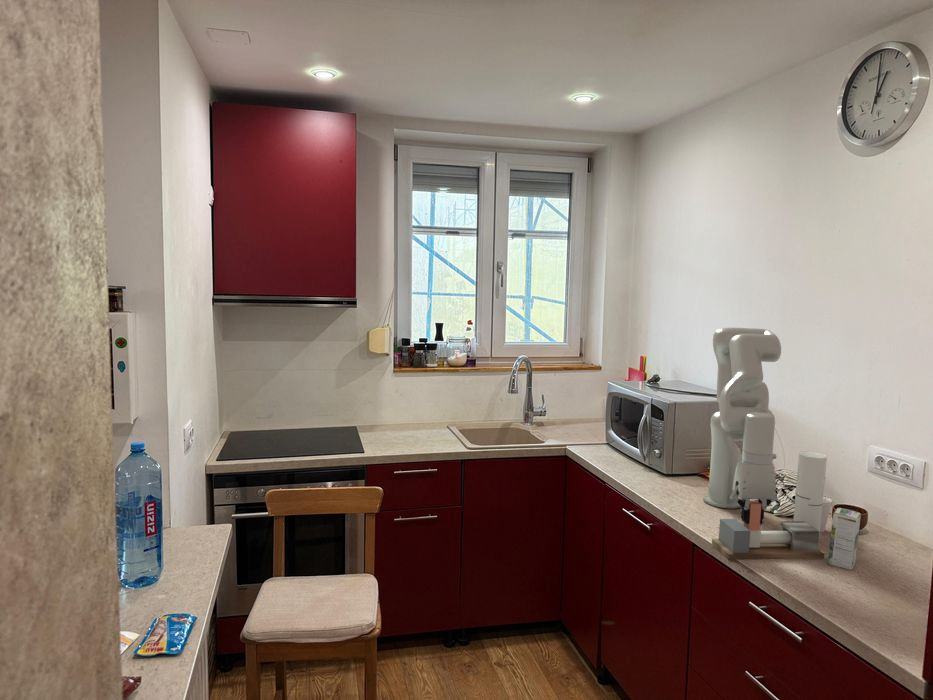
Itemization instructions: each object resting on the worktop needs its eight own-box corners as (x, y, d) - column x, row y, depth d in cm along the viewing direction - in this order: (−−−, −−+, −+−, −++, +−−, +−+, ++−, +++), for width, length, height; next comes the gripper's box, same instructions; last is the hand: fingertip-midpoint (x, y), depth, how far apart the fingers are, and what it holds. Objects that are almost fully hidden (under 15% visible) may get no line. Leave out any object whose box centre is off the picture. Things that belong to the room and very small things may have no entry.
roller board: (711, 543, 180) (713, 519, 179) (802, 543, 182) (804, 519, 181) (728, 559, 170) (730, 533, 169) (824, 559, 172) (826, 533, 171)
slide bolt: (732, 540, 177) (735, 499, 176) (786, 540, 178) (790, 499, 177) (740, 547, 173) (743, 505, 171) (796, 547, 174) (800, 505, 172)
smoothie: (826, 526, 194) (830, 483, 193) (832, 534, 188) (836, 489, 187) (803, 524, 196) (807, 480, 194) (809, 532, 190) (813, 487, 188)
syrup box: (831, 557, 173) (836, 506, 171) (856, 563, 169) (861, 512, 168) (827, 564, 169) (832, 512, 167) (852, 571, 165) (858, 518, 163)
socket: (718, 540, 179) (720, 518, 178) (733, 539, 179) (735, 518, 179) (732, 553, 171) (734, 530, 170) (748, 552, 171) (750, 530, 170)
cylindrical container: (795, 529, 192) (802, 449, 189) (821, 535, 187) (829, 454, 184) (789, 536, 186) (796, 454, 183) (816, 543, 182) (824, 459, 179)
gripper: (778, 454, 177) (772, 516, 179) (721, 453, 176) (717, 517, 178) (793, 462, 169) (787, 527, 171) (734, 461, 168) (729, 527, 170)
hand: (751, 521), depth 174 cm, fingers closed on slide bolt, 3 cm apart
